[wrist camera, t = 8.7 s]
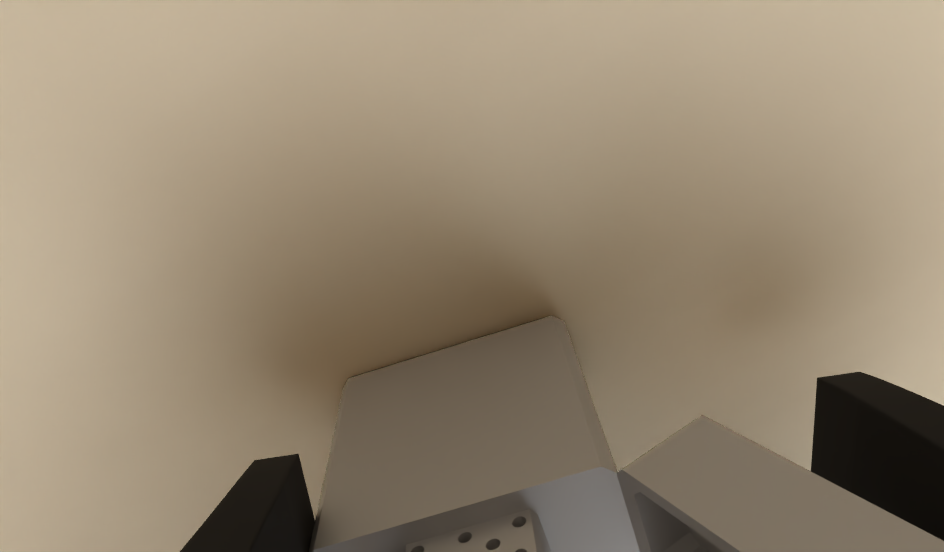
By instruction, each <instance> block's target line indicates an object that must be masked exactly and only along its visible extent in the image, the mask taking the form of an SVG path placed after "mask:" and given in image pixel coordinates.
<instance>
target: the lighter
mask: <svg viewBox="0 0 944 552" xmlns="http://www.w3.org/2000/svg"><path fill="white" fill-rule="evenodd" d="M309 552H944V541H943V540H941V539H939V538H937V537H935V536H933V535H931V534H929V533H927V532H926V531H924V530H922V529H920V528H918V527H916V526H914V525H912V524H910V523H908V522H906V521H904V520H903V519H901V518H899V517H897V516H895V515H893V514H891V513H889V512H887V511H885V510H883V509H882V508H880V507H878V506H876V505H874V504H872V503H870V502H868V501H866V500H864V499H862V498H860V497H859V496H857V495H855V494H853V493H851V492H849V491H847V490H845V489H843V488H841V487H839V486H837V485H836V484H834V483H832V482H830V481H828V480H826V479H824V478H822V477H820V476H818V475H816V474H814V473H813V472H811V471H809V470H807V469H805V468H803V467H801V466H799V465H797V464H795V463H793V462H792V461H790V460H788V459H786V458H784V457H782V456H780V455H778V454H776V453H774V452H772V451H770V450H769V449H767V448H765V447H763V446H761V445H759V444H757V443H755V442H753V441H751V440H749V439H747V438H746V437H744V436H742V435H740V434H738V433H736V432H734V431H732V430H730V429H728V428H726V427H724V426H723V425H721V424H719V423H717V422H715V421H713V420H711V419H709V418H707V417H705V416H703V415H701V416H700V417H698V418H697V419H695V420H694V421H692V422H691V423H689V424H688V425H686V426H685V427H683V428H682V429H681V430H679V431H678V432H676V433H675V434H673V435H672V436H670V437H669V438H667V439H666V440H664V441H663V442H661V443H660V444H658V445H657V446H655V447H654V448H652V449H651V450H649V451H648V452H647V453H645V454H644V455H642V456H641V457H639V458H638V459H636V460H635V461H633V462H632V463H630V464H629V465H627V466H626V467H624V468H623V469H622V470H620V471H619V472H617V469H616V466H615V463H614V461H613V458H612V455H611V452H610V449H609V446H608V444H607V441H606V438H605V435H604V432H603V429H602V427H601V424H600V421H599V418H598V415H597V413H596V410H595V407H594V404H593V401H592V398H591V396H590V393H589V390H588V387H587V384H586V381H585V379H584V376H583V373H582V370H581V367H580V364H579V362H578V359H577V356H576V353H575V350H574V348H573V345H572V342H571V339H570V336H569V333H568V331H567V328H566V325H565V322H564V321H563V320H561V319H559V318H556V317H554V316H549V317H546V318H542V319H539V320H536V321H533V322H529V323H526V324H523V325H520V326H516V327H513V328H510V329H507V330H504V331H500V332H497V333H494V334H491V335H487V336H484V337H481V338H478V339H474V340H471V341H468V342H465V343H461V344H458V345H455V346H452V347H449V348H445V349H442V350H439V351H436V352H432V353H429V354H426V355H423V356H419V357H416V358H413V359H410V360H406V361H403V362H400V363H397V364H393V365H390V366H387V367H384V368H381V369H377V370H374V371H371V372H368V373H364V374H361V375H358V376H355V377H351V378H348V380H347V382H346V384H345V386H344V388H343V391H342V396H341V400H340V405H339V410H338V415H337V419H336V424H335V429H334V434H333V438H332V443H331V448H330V453H329V458H328V462H327V467H326V472H325V477H324V481H323V486H322V491H321V496H320V501H319V505H318V510H317V515H316V520H315V524H314V529H313V534H312V539H311V543H310V548H309Z"/></svg>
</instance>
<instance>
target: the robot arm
mask: <svg viewBox="0 0 944 552" xmlns="http://www.w3.org/2000/svg"><path fill="white" fill-rule="evenodd" d="M811 472H813V473H814V474H816V475H818V476H820V477H822V478H824V479H826V480H828V481H830V482H832V483H834V484H836V485H837V486H839V487H841V488H843V489H845V490H847V491H849V492H851V493H853V494H855V495H857V496H859V497H860V498H862V499H864V500H866V501H868V502H870V503H872V504H874V505H876V506H878V507H880V508H882V509H883V510H885V511H887V512H889V513H891V514H893V515H895V516H897V517H899V518H901V519H903V520H904V521H906V522H908V523H910V524H912V525H914V526H916V527H918V528H920V529H922V530H924V531H926V532H927V533H929V534H931V535H933V536H935V537H937V538H939V539H941V540H943V541H944V406H943V405H941V404H938V403H936V402H934V401H932V400H929V399H927V398H925V397H922V396H920V395H918V394H915V393H913V392H911V391H908V390H906V389H904V388H901V387H899V386H896V385H894V384H892V383H889V382H887V381H884V380H881V379H879V378H876V377H873V376H871V375H868V374H865V373H862V372H855V373H848V374H841V375H834V376H827V377H820V378H817V390H816V404H815V419H814V434H813V449H812V464H811ZM314 524H315V520H314V516H313V511H312V507H311V503H310V499H309V495H308V491H307V487H306V483H305V479H304V475H303V471H302V467H301V462H300V458H299V454H294V455H287V456H280V457H274V458H267V459H260V460H254V462H253V463H252V464H251V465H250V466H249V467H248V469H247V470H246V471H245V472H244V474H243V475H242V476H241V477H240V478H239V480H238V481H237V482H236V483H235V485H234V486H233V487H232V488H231V490H230V491H229V492H228V493H227V495H226V496H225V497H224V498H223V500H222V501H221V502H220V503H219V505H218V506H217V507H216V508H215V510H214V511H213V512H212V513H211V514H210V516H209V517H208V518H207V519H206V521H205V522H204V523H203V524H202V526H201V527H200V528H199V529H198V531H197V532H196V533H195V534H194V535H193V537H192V538H191V539H190V540H189V541H188V543H187V544H186V545H185V546H184V547H183V549H182V550H181V551H180V552H309V548H310V543H311V539H312V534H313V529H314Z"/></svg>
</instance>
